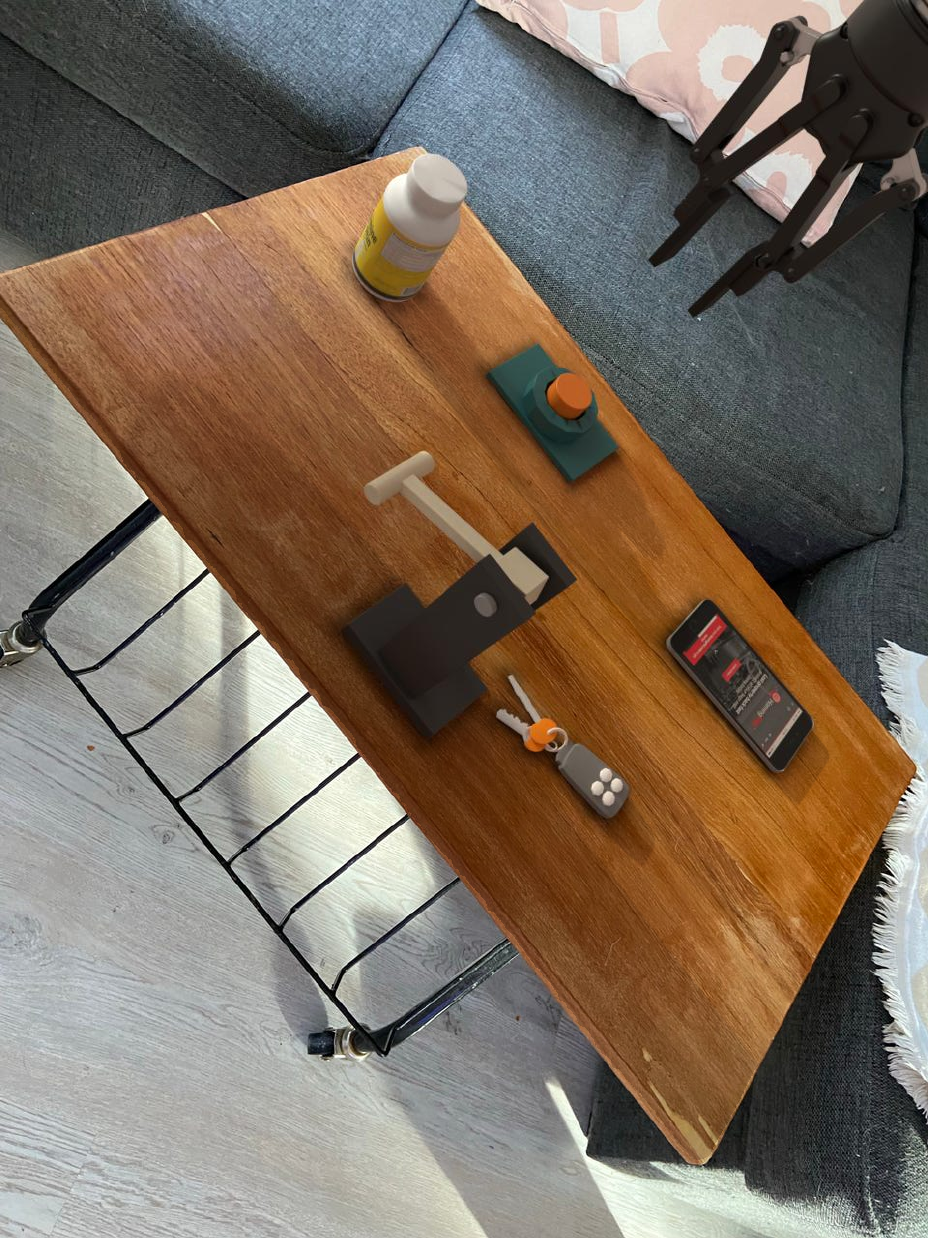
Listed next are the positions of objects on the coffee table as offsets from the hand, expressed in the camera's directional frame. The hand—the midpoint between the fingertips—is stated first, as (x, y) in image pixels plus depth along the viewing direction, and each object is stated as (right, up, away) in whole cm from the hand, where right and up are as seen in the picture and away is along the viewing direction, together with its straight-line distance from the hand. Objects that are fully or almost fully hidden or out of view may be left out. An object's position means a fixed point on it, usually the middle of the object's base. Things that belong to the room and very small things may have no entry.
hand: (680, 282), depth 72 cm
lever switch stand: (-20, -28, 0) cm, 34 cm away
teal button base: (-8, -6, +16) cm, 19 cm away
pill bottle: (-23, +5, +13) cm, 27 cm away
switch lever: (-16, -20, -11) cm, 28 cm away
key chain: (-9, -35, +4) cm, 36 cm away
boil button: (-7, -6, +14) cm, 17 cm away
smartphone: (+8, -31, +14) cm, 35 cm away
